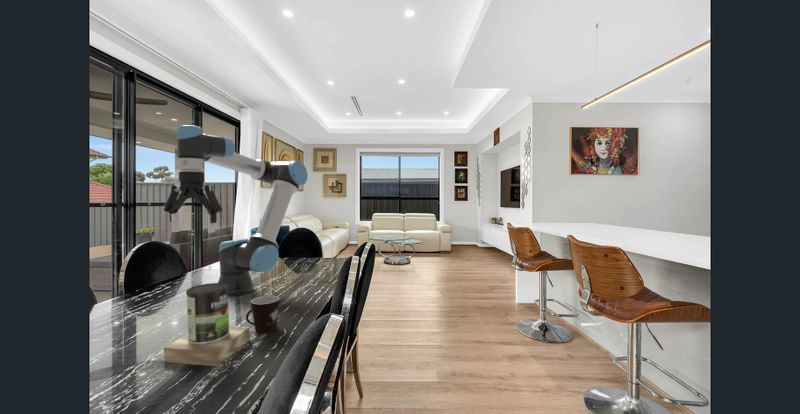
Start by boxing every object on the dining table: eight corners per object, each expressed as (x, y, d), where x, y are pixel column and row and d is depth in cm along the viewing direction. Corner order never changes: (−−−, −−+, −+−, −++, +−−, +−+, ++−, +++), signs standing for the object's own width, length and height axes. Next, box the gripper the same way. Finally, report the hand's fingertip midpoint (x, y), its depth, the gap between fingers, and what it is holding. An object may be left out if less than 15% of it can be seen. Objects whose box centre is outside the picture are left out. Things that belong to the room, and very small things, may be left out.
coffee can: (237, 330, 98) (236, 283, 98) (211, 346, 88) (209, 294, 87) (207, 327, 100) (206, 281, 100) (178, 343, 90) (176, 292, 89)
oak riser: (204, 337, 103) (204, 324, 103) (249, 339, 101) (249, 327, 101) (164, 362, 88) (163, 347, 88) (216, 366, 86) (216, 351, 86)
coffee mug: (273, 322, 114) (272, 293, 114) (284, 329, 108) (284, 299, 108) (237, 332, 106) (237, 301, 106) (247, 341, 100) (247, 308, 100)
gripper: (149, 170, 113) (152, 232, 114) (217, 170, 110) (219, 234, 111) (167, 171, 120) (170, 230, 121) (231, 171, 117) (233, 231, 118)
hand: (193, 232), depth 116 cm, fingers open, 13 cm apart
